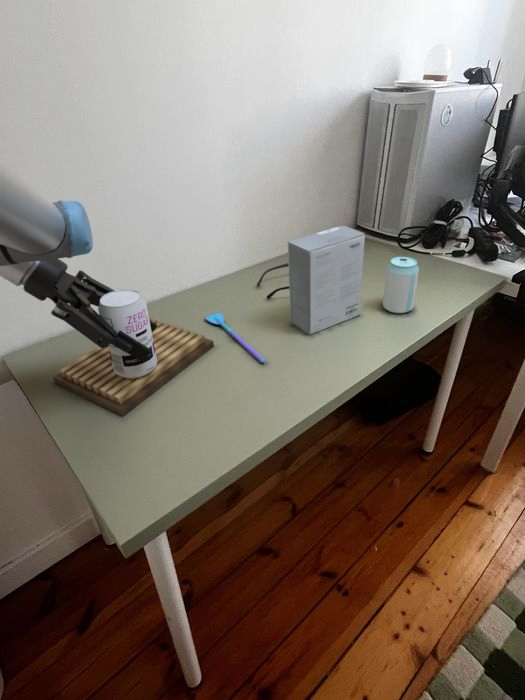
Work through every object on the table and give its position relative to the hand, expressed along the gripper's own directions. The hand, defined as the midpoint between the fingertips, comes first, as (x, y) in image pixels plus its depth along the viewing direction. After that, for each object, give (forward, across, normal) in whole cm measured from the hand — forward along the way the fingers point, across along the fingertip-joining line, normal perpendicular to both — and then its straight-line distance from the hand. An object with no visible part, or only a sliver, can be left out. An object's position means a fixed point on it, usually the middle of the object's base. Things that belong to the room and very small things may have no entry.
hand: (150, 342), depth 81 cm
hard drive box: (+32, -17, +20) cm, 42 cm away
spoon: (+17, -13, +5) cm, 22 cm away
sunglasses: (+28, -36, +16) cm, 48 cm away
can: (+45, -20, +33) cm, 59 cm away
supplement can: (+1, 0, -6) cm, 7 cm away
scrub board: (+3, -6, -9) cm, 11 cm away
